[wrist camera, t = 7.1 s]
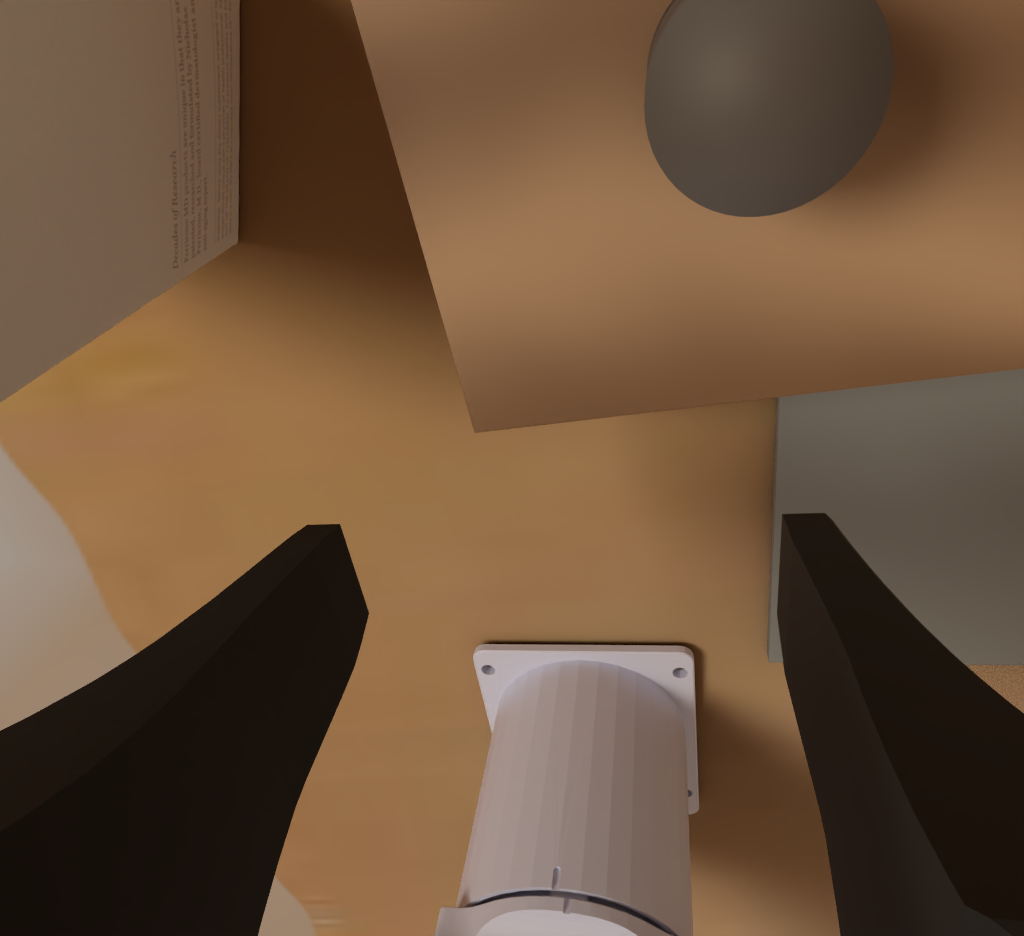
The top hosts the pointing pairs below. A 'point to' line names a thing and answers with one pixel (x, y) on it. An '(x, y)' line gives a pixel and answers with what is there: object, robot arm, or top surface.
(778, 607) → the robot arm
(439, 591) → the top surface
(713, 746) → the top surface
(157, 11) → the supplement box
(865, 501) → the slate mat
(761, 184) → the walnut cover
